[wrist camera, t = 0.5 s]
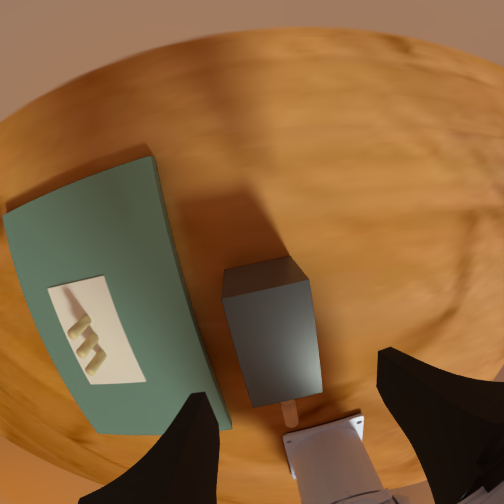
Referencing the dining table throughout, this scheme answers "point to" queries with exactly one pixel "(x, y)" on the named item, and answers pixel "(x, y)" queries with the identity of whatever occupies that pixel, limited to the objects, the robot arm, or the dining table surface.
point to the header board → (113, 299)
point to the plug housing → (273, 332)
